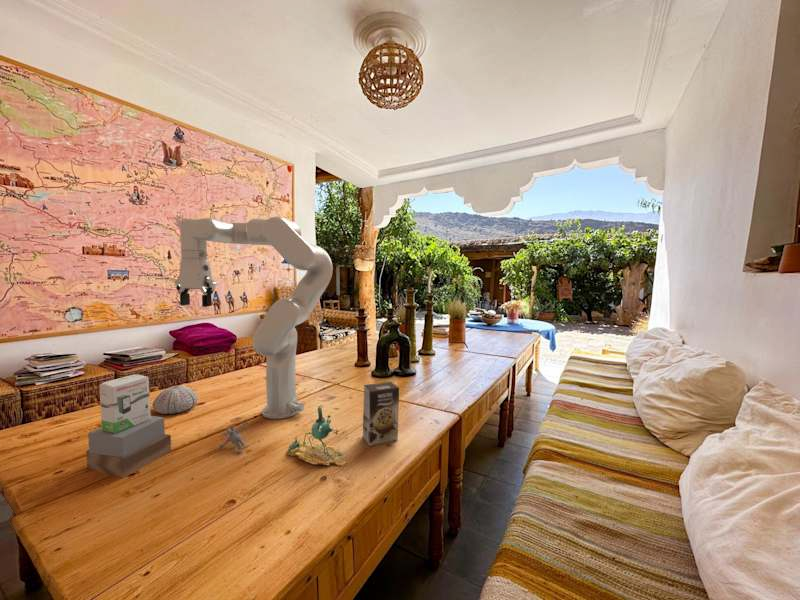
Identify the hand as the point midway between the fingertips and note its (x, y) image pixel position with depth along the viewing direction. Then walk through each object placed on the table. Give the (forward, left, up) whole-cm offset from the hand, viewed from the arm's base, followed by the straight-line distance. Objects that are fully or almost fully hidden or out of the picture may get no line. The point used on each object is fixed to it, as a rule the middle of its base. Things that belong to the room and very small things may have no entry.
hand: (195, 305), depth 115 cm
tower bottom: (-12, +31, -37) cm, 50 cm away
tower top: (-12, +31, -32) cm, 46 cm away
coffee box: (-69, 0, -36) cm, 78 cm away
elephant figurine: (-33, +17, -37) cm, 52 cm away
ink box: (-12, +32, -27) cm, 43 cm away
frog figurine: (-56, +14, -37) cm, 69 cm away
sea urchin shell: (+6, +4, -37) cm, 37 cm away
